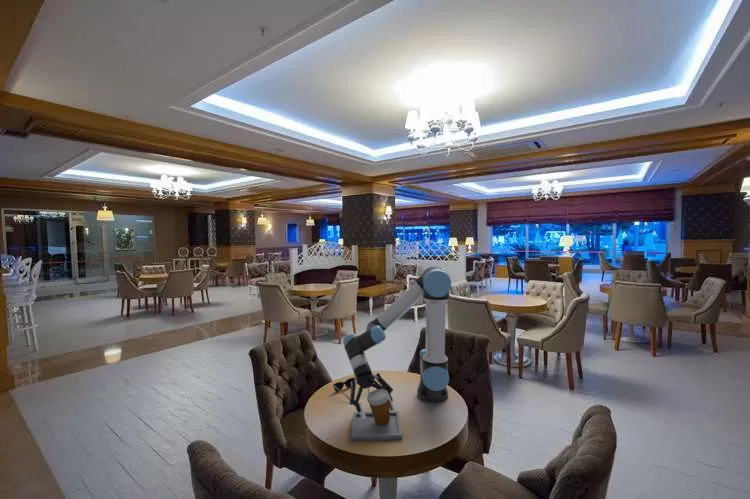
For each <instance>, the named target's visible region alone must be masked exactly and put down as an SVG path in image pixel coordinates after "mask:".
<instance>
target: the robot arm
mask: <svg viewBox="0 0 750 499" xmlns="http://www.w3.org/2000/svg"><path fill="white" fill-rule="evenodd" d="M451 287H452V279H451V277H450V275H449V273H448V272H447V271H446V270H444V269H443V268H441V267H439V266H430V267H428V268H426V269H425V270H424V271H423V272H422V273H421V274H420V276H418V278H416V279H415V280H414V284H413V285H412V286H410V287H409V288H408V289H407V290H406V291H405V292H403V293H402V294H401V295H400V296H398V298H396V299H395V301H394V302H392V303H391V304H390V305H388V307H386V309H384V310H383V311H382V312H381V313H380V314H378V315H377V316H376V317H375V318H374V319H373V320H370V321H369V322H368V324H367V326H366V329H365V331H364V332H362V333H361V334H359V335H357V334H356V333H350V334H348V335H346V336H345V337H344V338H343V339H342V344H343V347H344V350H345V353H346V355H347V357H348V360H349V363H350V366H351V369H352V370H353V374H354V378H356V379H355V380H352V381H351V383H350V384H351V387H350V395H349V398H350V400H349V405H351V406H352V405H353V406H354V407H355V409H356V412H358V413H359V412H360V415H361V418H362V421H364V420H365V419H366V416H365V413H364V412H365V411H364V407H363V405H362V402H361V401H360V399H361V396H362V393H363V390H364V389H365V390H366V389H367V388H368V389H370V388H373V389H374V388H375V390H377V389H384V390H386V391H387V392H388V393H389V412H393V411H395V409H396V408H395V406H394V404H393V401H394V400H393V397H392V392H393V391H394V389H393V388H392V386H391V385H390V384H389V383H387V382H386V380H385V379H384V378H383V377H382V376H381V374H380V373H379V372H378V373H376V374H373V373H372V369H371V366H370V364H369V361H368V358H367V357H366V354H365V352H366V351H368V350H369V349H371V348H373V347H375V346H376V345H379V344H381V343H382V342H383V341H385V340H386V338H387V337H386V333H385V331H386V330H387V329H389V328H390V327H391V326H392V325H393V324H394V323H395V322H396V321H398V320H399V319H400V318H401V317H402V316H403V315H404V314H406V313H407V312H408V311H409V310H411V308H412V307H414V306H416V304H418V302H420V300H422V299H423V300H424V301H425V303H426V307H425V309H426V310H425V311H426V313H425V348H422V349H421V350H420V351H419V368H420V370H419V371H420V372H419V373H420V376H419V377H420V378H419V379H420V380H419V382H418V386H417V389H416V396H417V397H418V398H419V400H421V401H424V402H427V403H443V402H444V401H446V400H447V399H448V397H449V391H448V387H447V386H448V384H449V382H450V375H449V358H448V356H447V355H446V354H445V352H446V350H445V348H446V307H447V306H446V303H447V302H448V301H449V300H450V290H451V289H452V288H451ZM357 385H358V386H359V387H358V391H357V394H356V388H357V387H356V386H357ZM355 395H356V397H355Z"/></svg>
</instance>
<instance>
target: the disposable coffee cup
mask: <svg viewBox="0 0 750 499" xmlns="http://www.w3.org/2000/svg"><path fill="white" fill-rule="evenodd" d="M369 392H370V393H369ZM369 392H368V394H367V398H366V401H367V403H368V405H369V407H370V410H371V412H372V413H373V416H374V419H375V422H376V424H377V425H385V424H387V423H388V422H389V421H390V412H391V411H390V408H389V393H388V392H387V391H386V390H384V389H374V390H372V391H369Z"/></svg>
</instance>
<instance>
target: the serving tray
mask: <svg viewBox="0 0 750 499" xmlns="http://www.w3.org/2000/svg"><path fill="white" fill-rule="evenodd" d="M389 412H390V421H389V422H388V423H387V424H385V425H377V424H376V422H375V419H374V416H373V413H372V411H364V413H365V416H366V419H365V420H364V421H362V418H361V415H360V412H359V413H358V412H357V411H356V412H353V416H352V426H351V433H350V434H351V435H350V441H351V442H369V441H368V440H379V441H403V434H402V433H403V432H402V425H401V424H402V423H401V418H400V417H401V416H400V411H398V410H397V411H396V410H393V411H392V412H391V411H389Z"/></svg>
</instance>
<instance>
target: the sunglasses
mask: <svg viewBox="0 0 750 499" xmlns="http://www.w3.org/2000/svg"><path fill="white" fill-rule="evenodd" d="M352 380H356V377H351V378H348V379H346V380H345V381H344V382H343V381H338V382H336V383H333V384H332V387H333V389H334V391H335V392H340V393H341V394H342V395H344V396H345V397H346V398H347V399H348V400H349V401H350V396H348V395H347V394H345V393H344V392H343V391H342V390H343V388H344V386H345V387H346V389H347V388H351V384H350V383H351V381H352ZM366 389H367V391H368V394H369V393H370V392H371V391H370V388H366Z"/></svg>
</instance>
